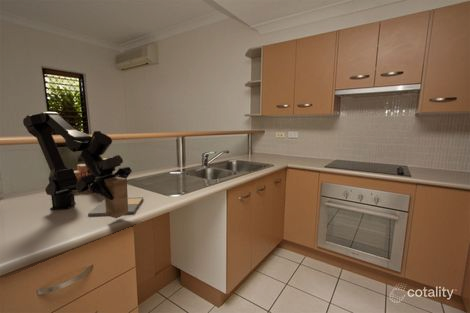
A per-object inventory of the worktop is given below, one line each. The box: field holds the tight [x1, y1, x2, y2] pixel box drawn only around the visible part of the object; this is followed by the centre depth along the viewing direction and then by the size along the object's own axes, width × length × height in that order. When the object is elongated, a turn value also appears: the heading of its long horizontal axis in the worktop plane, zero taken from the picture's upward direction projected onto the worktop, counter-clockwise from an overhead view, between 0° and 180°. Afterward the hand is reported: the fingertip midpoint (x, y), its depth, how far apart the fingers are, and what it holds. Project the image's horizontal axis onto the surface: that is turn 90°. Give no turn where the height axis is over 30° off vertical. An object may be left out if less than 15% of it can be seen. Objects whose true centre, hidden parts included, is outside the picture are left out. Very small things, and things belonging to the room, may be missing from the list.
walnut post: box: [104, 177, 129, 219], centre depth 79 cm, size 5×5×13 cm
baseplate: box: [87, 197, 144, 217], centre depth 93 cm, size 16×16×1 cm
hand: (119, 196), depth 79 cm, fingers closed on walnut post, 5 cm apart
